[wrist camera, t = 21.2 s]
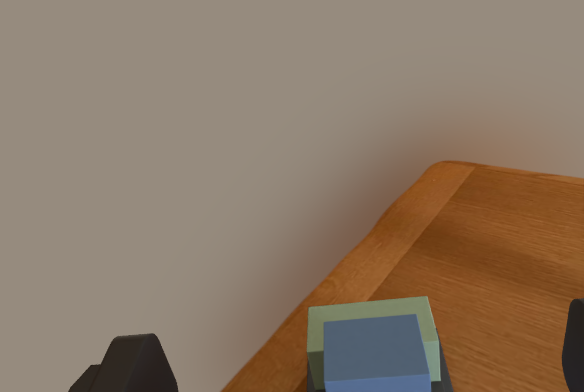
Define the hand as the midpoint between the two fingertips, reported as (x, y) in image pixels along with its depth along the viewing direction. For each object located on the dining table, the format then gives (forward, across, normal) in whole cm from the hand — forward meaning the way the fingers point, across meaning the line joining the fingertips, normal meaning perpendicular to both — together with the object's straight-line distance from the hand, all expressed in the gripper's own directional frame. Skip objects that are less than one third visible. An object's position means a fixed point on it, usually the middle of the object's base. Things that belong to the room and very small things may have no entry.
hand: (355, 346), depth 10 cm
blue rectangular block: (+11, 0, +22) cm, 25 cm away
